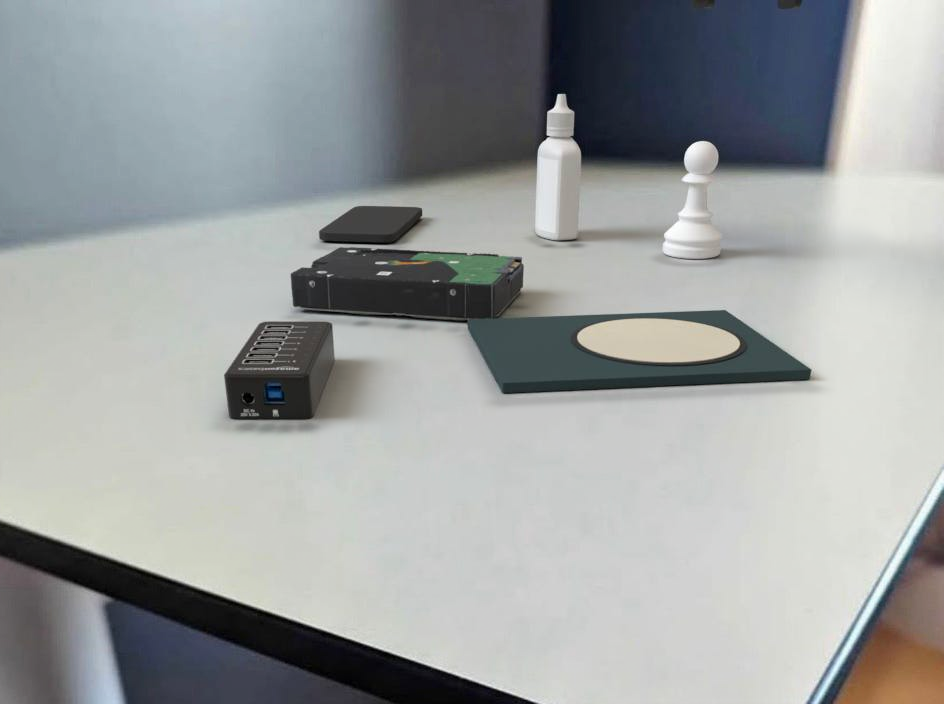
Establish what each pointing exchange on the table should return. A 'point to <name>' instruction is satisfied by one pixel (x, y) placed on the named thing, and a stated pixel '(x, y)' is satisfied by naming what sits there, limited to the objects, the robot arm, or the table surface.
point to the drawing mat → (628, 351)
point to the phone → (371, 224)
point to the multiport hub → (280, 371)
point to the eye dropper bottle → (558, 177)
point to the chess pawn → (695, 209)
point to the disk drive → (409, 283)
